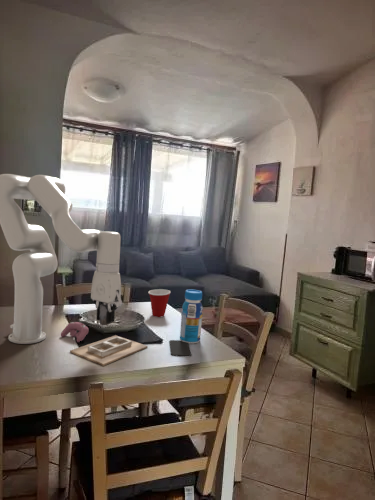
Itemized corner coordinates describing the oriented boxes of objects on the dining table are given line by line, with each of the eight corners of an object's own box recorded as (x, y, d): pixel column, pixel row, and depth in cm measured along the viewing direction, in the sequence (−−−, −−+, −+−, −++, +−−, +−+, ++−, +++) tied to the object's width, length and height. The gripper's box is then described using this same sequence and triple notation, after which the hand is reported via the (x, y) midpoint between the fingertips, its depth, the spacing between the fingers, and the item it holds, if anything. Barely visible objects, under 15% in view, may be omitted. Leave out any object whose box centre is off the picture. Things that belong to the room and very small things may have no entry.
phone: (187, 340, 146) (191, 355, 131) (187, 342, 146) (191, 357, 132) (169, 339, 146) (171, 354, 131) (168, 342, 146) (170, 356, 131)
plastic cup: (144, 312, 183) (146, 288, 181) (165, 312, 186) (167, 288, 185) (148, 318, 172) (150, 293, 171) (171, 318, 176) (173, 293, 174)
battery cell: (96, 322, 127) (97, 302, 126) (105, 320, 130) (106, 300, 130) (105, 325, 125) (106, 304, 124) (113, 322, 128) (114, 302, 127)
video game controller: (85, 344, 139) (92, 326, 141) (77, 342, 135) (84, 323, 137) (66, 338, 144) (73, 321, 146) (58, 336, 140) (65, 318, 142)
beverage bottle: (174, 339, 148) (178, 289, 146) (189, 335, 154) (193, 287, 152) (189, 345, 142) (194, 294, 140) (204, 341, 148) (209, 292, 146)
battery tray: (70, 352, 127) (70, 345, 127) (115, 336, 145) (115, 331, 145) (103, 365, 118) (103, 359, 118) (147, 347, 137) (147, 341, 136)
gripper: (82, 265, 127) (80, 318, 129) (118, 272, 118) (115, 328, 120) (98, 264, 133) (96, 313, 135) (133, 270, 124) (131, 323, 126)
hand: (105, 320), depth 127 cm, fingers closed on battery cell, 4 cm apart
